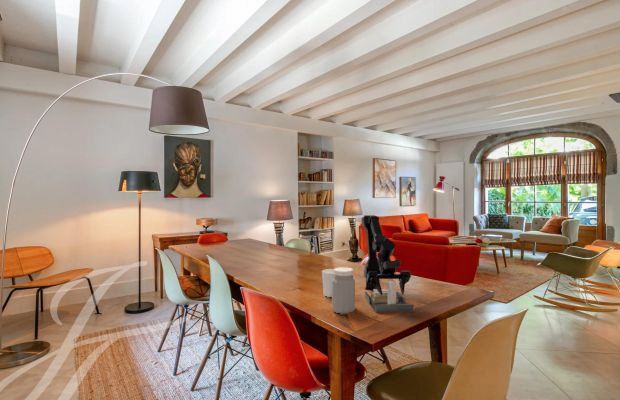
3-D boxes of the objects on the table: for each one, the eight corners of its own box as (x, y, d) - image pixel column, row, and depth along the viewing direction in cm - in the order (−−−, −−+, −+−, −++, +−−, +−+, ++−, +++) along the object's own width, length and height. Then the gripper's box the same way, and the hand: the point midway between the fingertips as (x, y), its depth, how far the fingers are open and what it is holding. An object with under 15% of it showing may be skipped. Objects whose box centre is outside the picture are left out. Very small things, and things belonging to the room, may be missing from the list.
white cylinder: (344, 293, 165) (344, 269, 165) (337, 299, 156) (337, 274, 156) (326, 291, 169) (326, 268, 169) (318, 296, 160) (318, 272, 160)
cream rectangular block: (387, 307, 142) (387, 279, 142) (392, 307, 142) (392, 279, 142) (390, 310, 138) (390, 282, 138) (395, 310, 138) (396, 282, 138)
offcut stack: (370, 298, 155) (370, 289, 154) (393, 297, 155) (393, 288, 155) (374, 302, 148) (374, 293, 148) (398, 302, 148) (398, 293, 148)
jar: (358, 313, 137) (358, 271, 137) (336, 316, 134) (336, 272, 134) (349, 306, 146) (349, 266, 146) (328, 308, 144) (328, 267, 143)
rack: (364, 299, 156) (364, 291, 156) (398, 298, 157) (398, 290, 157) (375, 315, 136) (375, 305, 136) (413, 314, 137) (413, 304, 137)
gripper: (367, 253, 144) (374, 285, 133) (409, 252, 145) (419, 284, 134) (363, 267, 152) (369, 298, 141) (403, 266, 153) (412, 297, 142)
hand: (392, 294), depth 139 cm, fingers open, 9 cm apart
